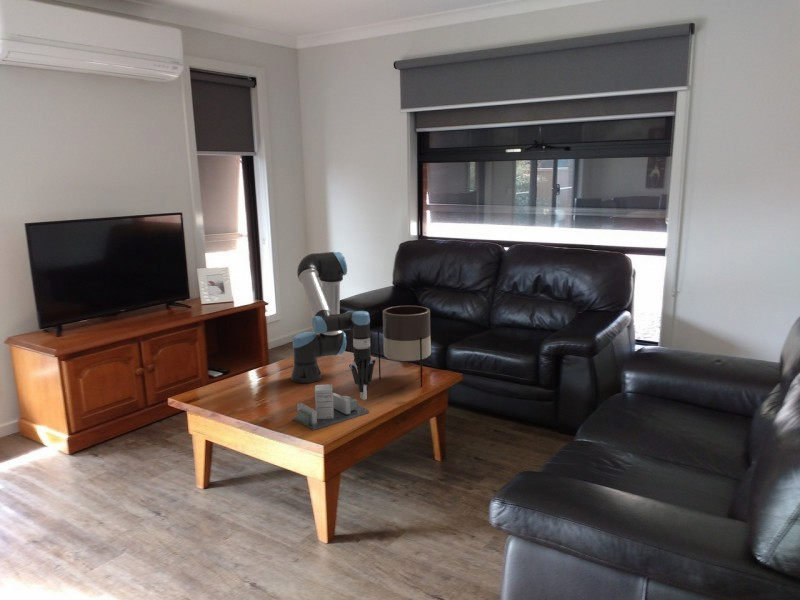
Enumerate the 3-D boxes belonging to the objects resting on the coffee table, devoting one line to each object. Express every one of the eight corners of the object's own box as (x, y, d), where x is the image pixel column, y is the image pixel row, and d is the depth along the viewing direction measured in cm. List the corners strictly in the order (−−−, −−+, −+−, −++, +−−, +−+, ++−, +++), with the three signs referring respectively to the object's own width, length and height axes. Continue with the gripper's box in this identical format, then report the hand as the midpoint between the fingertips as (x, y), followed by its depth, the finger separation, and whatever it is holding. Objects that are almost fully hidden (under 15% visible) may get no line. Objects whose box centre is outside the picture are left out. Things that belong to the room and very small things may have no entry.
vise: (293, 419, 254) (292, 403, 253) (348, 402, 271) (347, 388, 270) (313, 430, 242) (312, 413, 240) (369, 412, 259) (368, 397, 258)
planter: (446, 380, 298) (445, 311, 291) (404, 391, 285) (403, 318, 278) (415, 368, 319) (414, 303, 313) (375, 377, 306) (373, 309, 299)
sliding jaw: (330, 406, 263) (330, 393, 262) (344, 402, 267) (343, 390, 266) (346, 414, 254) (345, 401, 253) (360, 410, 258) (359, 397, 257)
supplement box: (316, 413, 257) (315, 384, 255) (334, 412, 258) (332, 383, 256) (315, 419, 250) (314, 390, 248) (333, 418, 251) (332, 389, 248)
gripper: (354, 351, 255) (356, 404, 259) (379, 345, 263) (380, 397, 268) (344, 348, 261) (346, 399, 265) (368, 342, 269) (370, 392, 273)
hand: (363, 398), depth 266 cm, fingers closed
